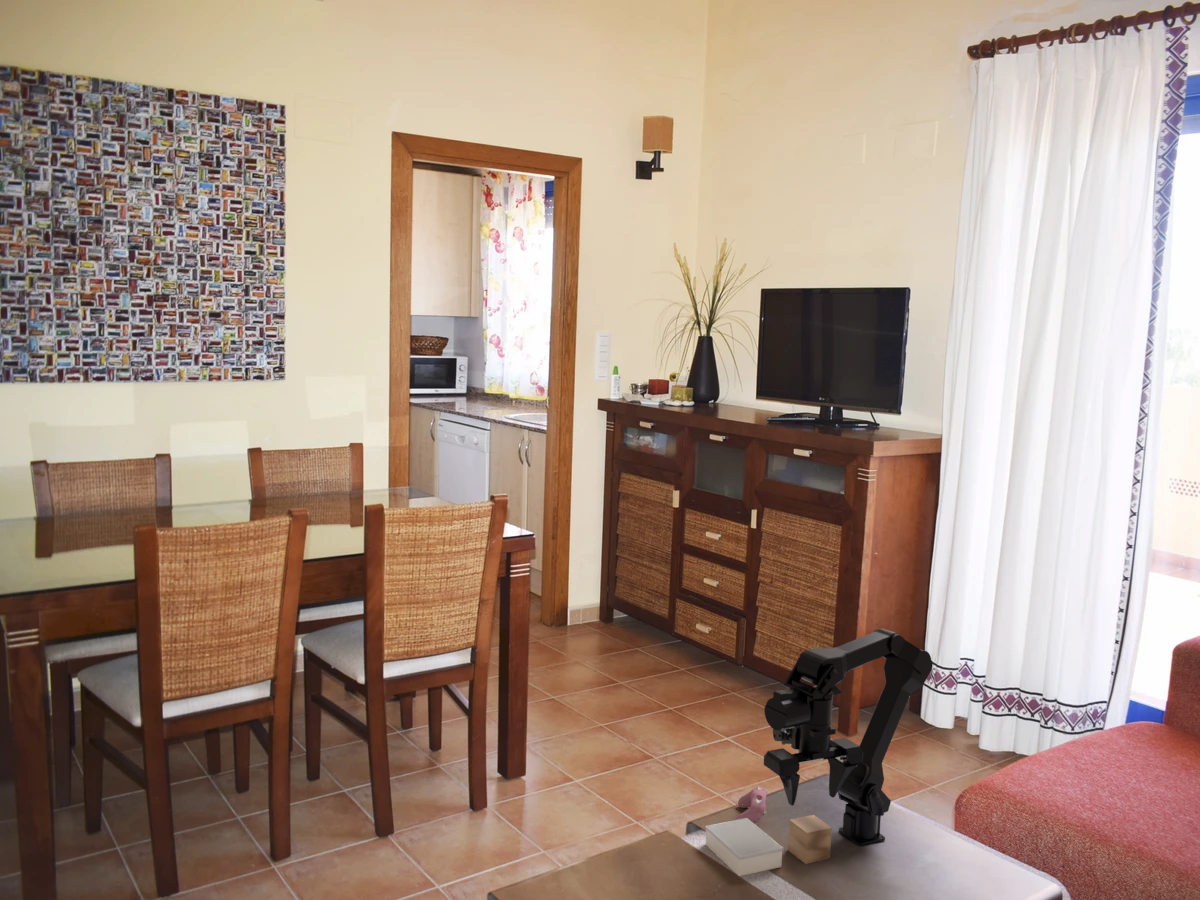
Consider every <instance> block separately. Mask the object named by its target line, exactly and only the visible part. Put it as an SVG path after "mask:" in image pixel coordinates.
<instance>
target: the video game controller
mask: <svg viewBox="0 0 1200 900" xmlns="http://www.w3.org/2000/svg"><path fill="white" fill-rule="evenodd" d="M767 794H768V791H767V790H766V789H764V788H763V787H759V785H758V786H756V787H754V788H753V789H751V790H750V791H749V792H747V793H745V794H744V795H741V797H740V798H739V799H738V801H737V805H738V807H739V808H740V809H741V808H742V809H746V808H748V809H746V810H745V811H743V812H742V813H740V814H738V815H737V816H736V817H735V820H739V819H745V818H748V819H749V820H750V821H751V822H752V823H754V824H755V823H756V822H757V821H759V820H760V819H761V818H762V817H765V816H766V815H767V810H766V807H767V805H766V799H767ZM742 804H743V805H742Z"/></svg>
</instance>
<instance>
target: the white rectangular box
mask: <svg viewBox="0 0 1200 900" xmlns="http://www.w3.org/2000/svg"><path fill="white" fill-rule="evenodd" d="M705 845H706V847H707V848H708V849H709V850H711V851H712V852H713V853H714V854H715V855H716V856H717V857H718V858H719V859H720V860H721V861H722V862H723V863H724V864H725V865H726V866H727V867H728V868H729V869H731V870H732V871H733V872H734V873H735V874H736V875H737V876H738V877H741V876H747V875H750V874H755V873H760V872H764V871H769V870H774V869H778V868H782V860H783V851H784V847H783V846H781V845H780V844H779V843H778V842H776V840H774V839H773V838H772V837H771V836H770V835H769V834H767V833H766V832H765V831H764V830H762V828H760V827H759V826H757V824H755V823H752V822H751V821H750V820H749V819H748V818H745V819H739V820H736V819H735V820H731V821H730V820H729V821H725V822H719V823H714V824H709V825H705Z"/></svg>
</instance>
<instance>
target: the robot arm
mask: <svg viewBox="0 0 1200 900" xmlns="http://www.w3.org/2000/svg"><path fill="white" fill-rule="evenodd" d="M881 658H884V659H885V662H884V665H883V673H884V680H885V684H884V687H883V689H882V691H881V693H880V696H879V698H878V701H877V704H876V706H875V708H874V710H873V711H872V712H873V713H872V716H871V718H870V720H869V723H868V725H867V727H866V729H865V732H864V734H863V736H862V739H861V741H860V744H857V743H855V742H853V741H852V740H850V739H848V738H846V737H841V738H835V739H831V736H832V735H836V728H835V727H834V726H832V719H833V700H834V699H833V697H834V696H839V695H842V690H841V689H840V688H838V686H837V684H839V683H840V682H842V681H843V680H844V679H845V678H846V676H847V673H848V672H850V671H851V670H854V669H857V668H859V667H862V666H863V665H866V664H869V663H871V662H873V661H876V660H878V659H881ZM933 662H934V661H933V660H932V657H931V654H930V653H929V651H927V650H924V649H921V648H919V647H918V646H916V645H914V644H912V643H911V642H910V641H908V640H906V639H905V638H904V637H903V636H901V635H900V633H898V632H896V631H891V630H888V629H886V628H882V627H881V628H876V629H874V631H873V632H871V633H868V634H866V635H864V636H861V637H858V638H856V639H853V640H851V641H848V642H846V643H844V644H841V645H837V646H836V647H817V648H809V649H805V650H804V651H802V652H801V653H800V654H799V657H798V659H797V660H796V662H795V664H794V666H793V668H792V669H791V671H790V673H789V675H788V676H787V679H786V680H785V682H784V687H786V688H788V689H784V690H779V689H778V690H773V694H772V697H771V698H769V699H768V700H767V701H766V703H765V706H764V708H763V709H764V717H765V720H766V722H767V725H769V726H770V727H771V729H772V736H773V740H774V741H775V742H781V745H782V746H785V745H790V746H791V747H790V748H792V749H793V750H798V752H797V753H791V752H790V751H787V750H786V749H785V748H783V747H782V748H777V749H776V748H775V749H770V750H767V751H765V753H764V756H763V766H765V767H766V768H767V769H769V770H770V771H772V772H773V773H775V774H776V775H778V776H779V779H780V781H781V783H782V785H783V789H784V792H785V795H786V799H787V801H788V804H789V805H790V806H794V805H795V803H796V800H797V793H798V788H799V785H800V778H801V775H800V774H799V771H800V765H801V764H808V763H813V762H819V761H824V760H827V761H828V765H829V773H828V774H829V777H828V791H829V792H828V793H829V796H830V797H831V798H833V799H834V798H836V795H838V798H839V800H840V801H843V802H845V806H844V808H845V809H844V812H843V815H842V816H843V819H842V820H843V821H842V827H839V828H838V832H840V833H841V834H843V836H845V837H847V838H848V839H849V840H851V841H852V842H853V843H854V844H856V845H857V846H865V845H868V844H874V843H878V842H883V841H885V840H886V836H884V835H883V834H882V833H881V819H882V817H884V815H885V813H887V812H889V809H890V805H891V803H892V801H891V799H890V798H889V797H888V796H887V795H886V794H885V792H884V791H883V790H882V789H883V785H884V781H885V777H884V770H883V762H884V760H885V756H886V754H887V751H888V749H889V747H890V744H891V742H892V739H893V737H894V734H895V732H896V731H897V728H898V725H899V723H900V720H901V718H902V716H903V714H904V710H905V708H906V706H907V704H908V701H909V698H910V696H911V695H912V694H913V693H914V692H916V691H917V690H918V689H921V687H923V685H924V684H925V683H926V681H927V679H928V678H929V675H930V674H931V672H932V669H933V666H934V665H933ZM801 680H803V681H805V682H808V683H805V682H803V681H801ZM809 683H810V684H813V685H814V686H813V685H810V684H809Z"/></svg>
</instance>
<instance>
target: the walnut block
mask: <svg viewBox="0 0 1200 900" xmlns="http://www.w3.org/2000/svg"><path fill="white" fill-rule="evenodd" d="M788 823H789V824H788V825H789V826H788V844H787V845H788V846H787V850H788V852H790V853H791V854H793V855H794V856H795V857H796V858H798V860H800V861H801V862H802V863H803V864H805V865H807V864H811V863H812V864H813V863H815V862H816V861H817V862H820V860H821V861H825V860H830V859H831V845H832V844H831V843H832V827H831V826H829V825H828V824H827V823H826V822H824V821H823V820H821V819H820V818H819V817H817V816H816V815H814V814H810V815H806V816H801V817H796V818H791V819H789V822H788ZM829 858H830V859H829Z"/></svg>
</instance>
